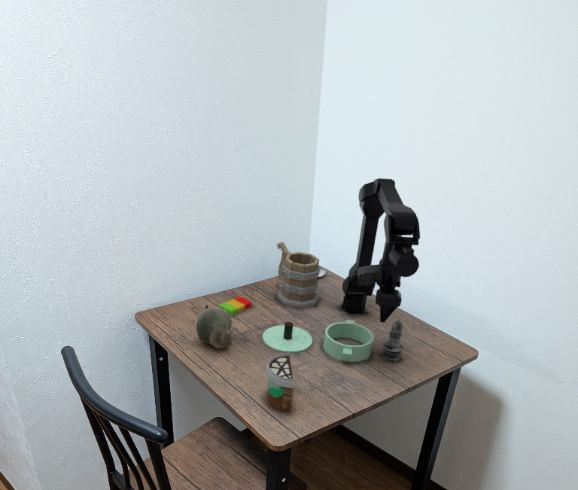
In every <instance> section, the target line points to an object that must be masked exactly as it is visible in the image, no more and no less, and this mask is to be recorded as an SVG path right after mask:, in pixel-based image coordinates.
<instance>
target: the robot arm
mask: <svg viewBox="0 0 578 490" xmlns="http://www.w3.org/2000/svg"><path fill="white" fill-rule="evenodd" d="M358 202H359V203H358V205H359V208H360V211H361V213H362V221H361V226H360V233H359V239H358V246H357V253H356V259H355V263H353V265H352V266H351V267H350V268H349V271H348V274H347V276H346V277H345V279H344V280H343V281H342V285H341V287H342V291H343V294H344V296H343V299H342V304H341V305H339V306H340V309H342V310H343V311H344V312H346V313H348V314H349V315H350V316H353V315H363V314H364V315H365V314H368V310H367V309H366V303H367V299H368V297H372V296H373V293H374V290H375V287H376V286H378V287H379V288H378V289H377V290H376V292H375V299H374V300H375V304H376V305H377V306H378V307H379V323H383V324H385V322H386V321H387V320H388V319H389V318H390V316H391V315H392V314H393V313H394V312H395V310H396V309H398V308H399V307H401V304H402V301H403V300H402V299H403V298H402V293H401V291H400V290H398V289H396V288H401V284H402V282H401V279H402V278H409V277H412V276H413V275H415V274H416V273H417V271H418V269H419V268H420V261H419V259H418V257H417V256H416V255H415V249H414V248H413V246H419V245H420V244H419V243H420V242H419V241H420V240H421V232H420V231H421V229H420V221H419V217H418V216H417V213H416V212H415V211H414V209H413V208H412V207H410V206H407V205H405V204H404V202H403V200H402V197H401V196H400V193H399V192H398V190H397V187H396V182H395V180H394V179H392V178H383V177H378V178H375V179H374V180H373V181H370V182H368V183H367V182H366V183H365V184H363V185H362V186H361V187H360V188H359V191H358ZM384 214H385V217H384V219H383V229H384V237H385V240H384V246H383V251H382V257H381V258H380V259H379V260H378V261H379V262H378V263H377V264H372V263H373V256H374V251H375V245H376V239H377V234H378V233H377V232H378V227H379V220H380V218H381V217H382V216H383V215H384Z"/></svg>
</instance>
